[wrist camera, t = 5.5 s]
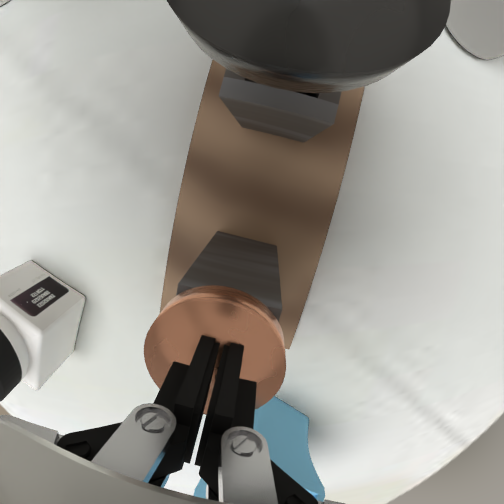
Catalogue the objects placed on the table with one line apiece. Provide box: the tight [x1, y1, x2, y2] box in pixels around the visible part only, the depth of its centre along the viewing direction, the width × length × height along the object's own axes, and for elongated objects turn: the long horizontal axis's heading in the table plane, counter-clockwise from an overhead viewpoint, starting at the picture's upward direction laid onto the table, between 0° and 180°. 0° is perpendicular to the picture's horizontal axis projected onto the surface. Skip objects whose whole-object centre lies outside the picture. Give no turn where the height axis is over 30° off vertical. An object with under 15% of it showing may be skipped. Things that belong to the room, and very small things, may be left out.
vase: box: [194, 396, 325, 502], centre depth 20 cm, size 8×8×20 cm
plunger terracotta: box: [144, 285, 286, 415], centre depth 17 cm, size 6×6×12 cm
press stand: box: [160, 60, 365, 349], centre depth 18 cm, size 24×11×12 cm, turn 166°
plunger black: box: [167, 0, 451, 95], centre depth 9 cm, size 6×6×12 cm
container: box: [0, 261, 85, 401], centre depth 21 cm, size 8×8×13 cm
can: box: [446, 0, 504, 60], centre depth 12 cm, size 8×8×12 cm
